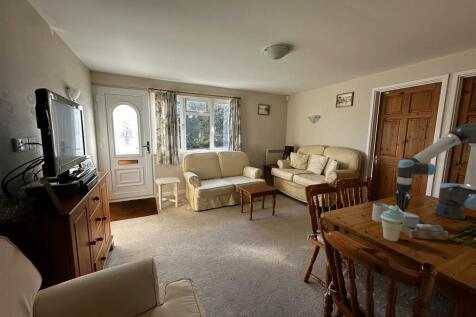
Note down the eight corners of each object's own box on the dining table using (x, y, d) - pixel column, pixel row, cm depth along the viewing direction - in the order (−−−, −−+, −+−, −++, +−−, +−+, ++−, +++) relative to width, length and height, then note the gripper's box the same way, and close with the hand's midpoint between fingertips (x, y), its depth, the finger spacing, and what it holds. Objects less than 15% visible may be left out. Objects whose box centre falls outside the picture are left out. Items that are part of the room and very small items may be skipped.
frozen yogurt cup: (381, 231, 119) (384, 199, 116) (405, 239, 110) (409, 204, 108) (375, 237, 113) (378, 203, 110) (400, 246, 104) (404, 209, 102)
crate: (409, 222, 132) (410, 211, 131) (418, 228, 123) (419, 217, 122) (395, 221, 133) (396, 211, 132) (403, 227, 125) (404, 216, 124)
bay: (416, 221, 132) (418, 210, 131) (448, 240, 109) (450, 227, 108) (387, 220, 134) (388, 209, 133) (412, 238, 111) (413, 225, 110)
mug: (384, 224, 129) (385, 207, 127) (369, 219, 136) (370, 204, 134) (391, 219, 136) (392, 204, 134) (377, 215, 143) (378, 200, 141)
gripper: (391, 180, 138) (388, 213, 141) (404, 185, 125) (400, 221, 128) (403, 181, 137) (400, 213, 140) (417, 186, 124) (413, 222, 127)
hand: (400, 217), depth 134 cm, fingers closed
